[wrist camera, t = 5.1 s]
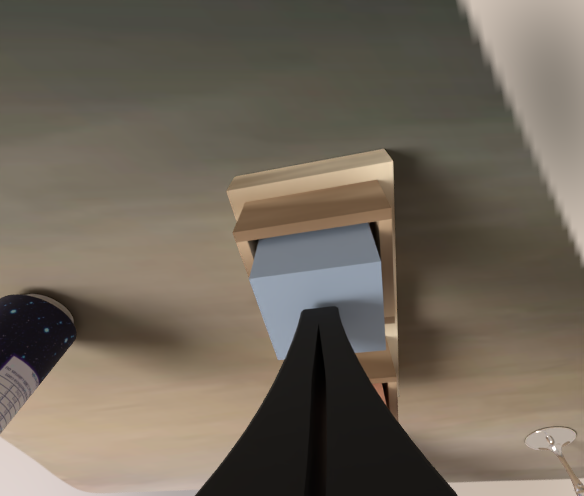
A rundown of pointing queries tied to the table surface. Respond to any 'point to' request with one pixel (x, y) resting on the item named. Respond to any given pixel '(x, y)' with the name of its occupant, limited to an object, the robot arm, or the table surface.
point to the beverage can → (29, 347)
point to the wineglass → (556, 448)
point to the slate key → (321, 284)
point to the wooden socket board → (329, 214)
